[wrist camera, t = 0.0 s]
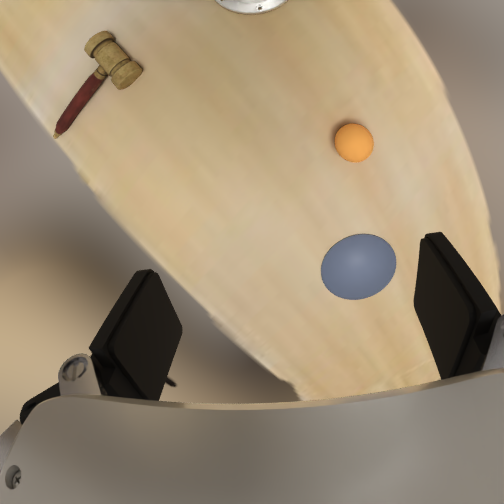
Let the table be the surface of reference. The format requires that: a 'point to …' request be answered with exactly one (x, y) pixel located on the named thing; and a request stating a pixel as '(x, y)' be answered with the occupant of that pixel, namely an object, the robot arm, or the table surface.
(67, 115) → the gavel
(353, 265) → the disc
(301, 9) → the table surface
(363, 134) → the ball
